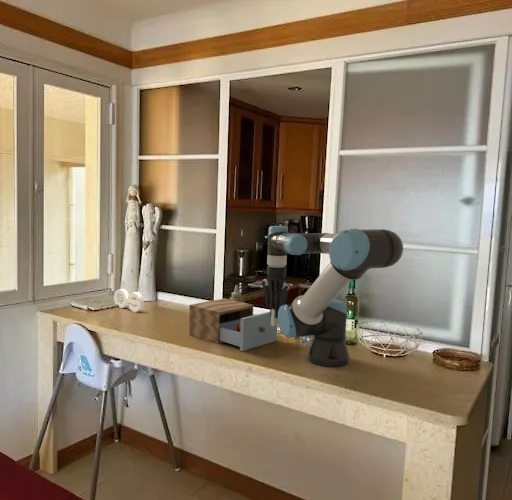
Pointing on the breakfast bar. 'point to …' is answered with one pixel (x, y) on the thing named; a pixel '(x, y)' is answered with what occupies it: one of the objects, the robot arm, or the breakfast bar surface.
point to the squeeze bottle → (236, 295)
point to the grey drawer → (249, 331)
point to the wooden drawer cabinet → (215, 317)
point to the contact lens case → (129, 300)
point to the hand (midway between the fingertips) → (274, 325)
